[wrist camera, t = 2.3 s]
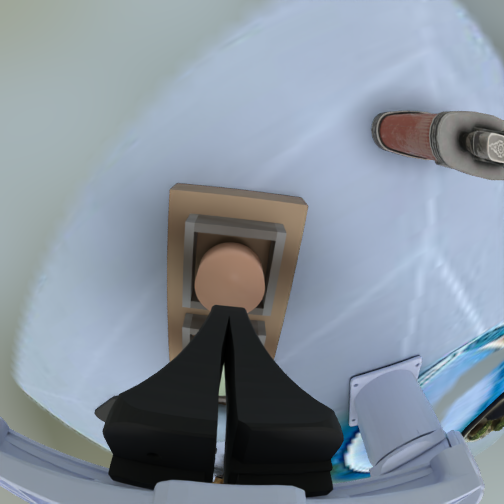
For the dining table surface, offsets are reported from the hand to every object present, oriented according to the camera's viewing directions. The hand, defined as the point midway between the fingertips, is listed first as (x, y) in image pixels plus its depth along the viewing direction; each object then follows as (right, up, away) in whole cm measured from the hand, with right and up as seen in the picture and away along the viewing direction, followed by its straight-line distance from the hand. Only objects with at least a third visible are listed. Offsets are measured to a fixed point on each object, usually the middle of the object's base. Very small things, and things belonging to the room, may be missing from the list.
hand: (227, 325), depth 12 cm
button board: (-1, -3, +10) cm, 11 cm away
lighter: (+13, +11, +5) cm, 18 cm away
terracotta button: (0, +2, +5) cm, 5 cm away
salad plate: (+50, -29, +24) cm, 63 cm away
